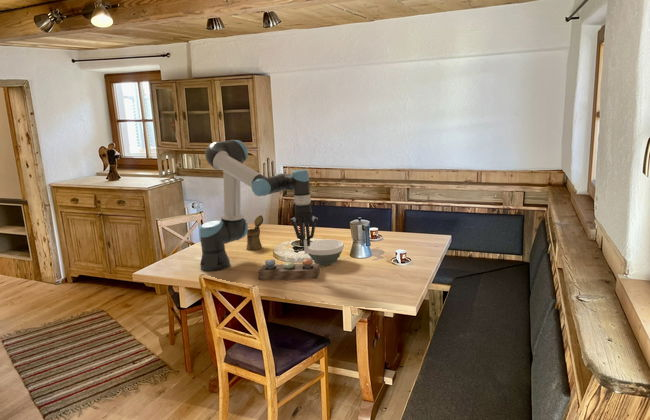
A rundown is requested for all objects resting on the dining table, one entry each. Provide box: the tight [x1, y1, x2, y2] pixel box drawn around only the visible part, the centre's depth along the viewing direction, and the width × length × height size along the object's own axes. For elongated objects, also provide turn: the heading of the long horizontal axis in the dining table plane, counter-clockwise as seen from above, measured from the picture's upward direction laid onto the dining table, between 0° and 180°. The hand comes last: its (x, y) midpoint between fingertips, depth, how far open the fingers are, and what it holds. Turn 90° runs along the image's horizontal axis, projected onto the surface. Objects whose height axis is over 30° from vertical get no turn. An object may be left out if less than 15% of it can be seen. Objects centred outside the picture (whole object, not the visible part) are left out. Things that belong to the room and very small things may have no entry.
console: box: [257, 263, 321, 281], centre depth 223 cm, size 28×10×4 cm, turn 83°
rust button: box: [301, 258, 314, 269], centre depth 221 cm, size 5×5×4 cm
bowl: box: [308, 238, 345, 267], centre depth 239 cm, size 20×20×10 cm
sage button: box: [283, 261, 295, 269], centre depth 223 cm, size 5×5×4 cm
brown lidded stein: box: [246, 215, 264, 251], centre depth 274 cm, size 9×14×18 cm, turn 148°
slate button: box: [264, 259, 276, 270], centre depth 224 cm, size 5×5×4 cm
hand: (306, 252), depth 220 cm, fingers closed
